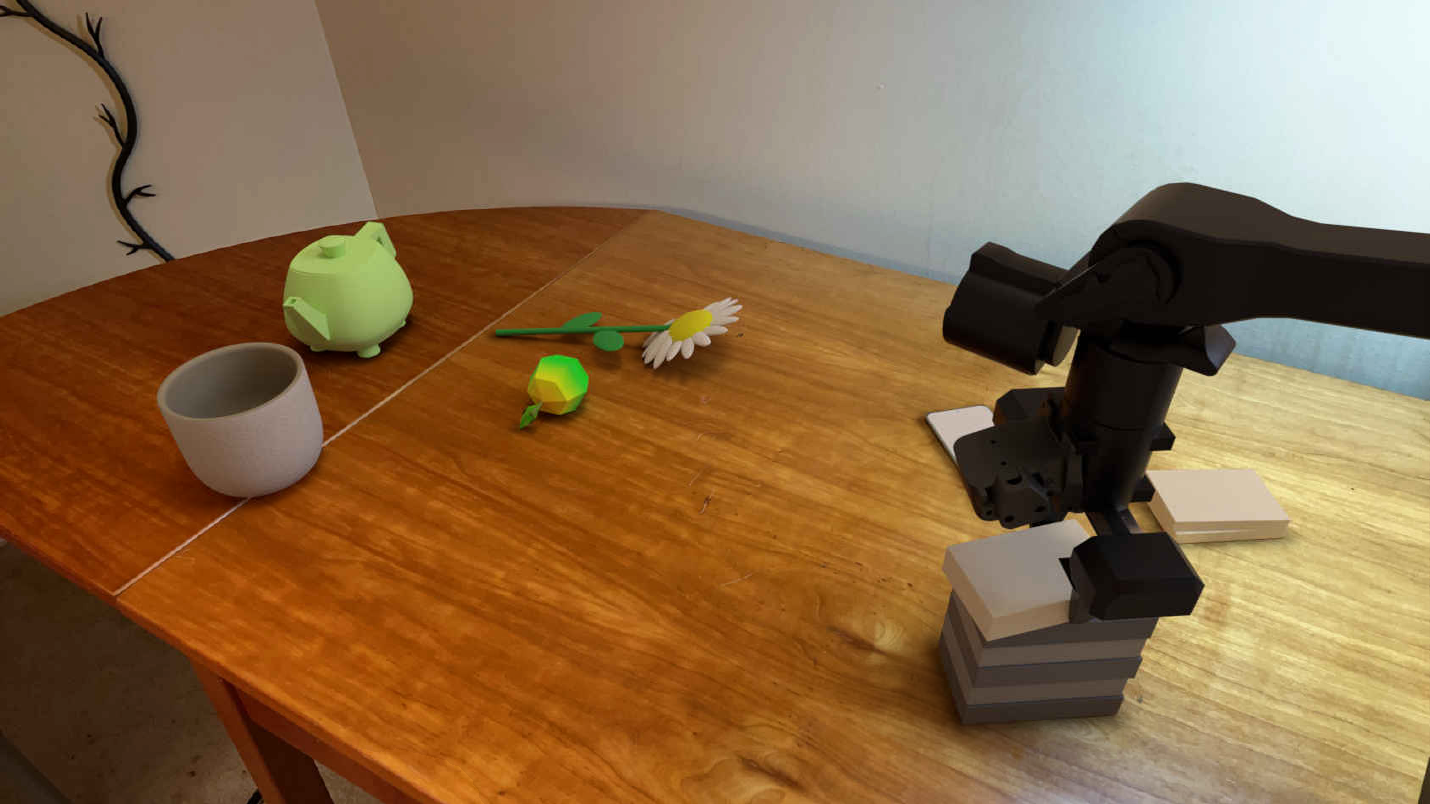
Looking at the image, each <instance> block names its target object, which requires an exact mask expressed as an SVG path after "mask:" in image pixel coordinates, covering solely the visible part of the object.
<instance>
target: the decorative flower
mask: <svg viewBox="0 0 1430 804" xmlns="http://www.w3.org/2000/svg"><path fill="white" fill-rule="evenodd" d="M738 301H739V299H733V300H732V297H727V298H725V299H722V300H721V301H715V302H711V304H709V305H707V306H705V307H704V308H702V309H696V310H692V311H689V312H686V313H684V314H682V315H680V316H679V317H677V318H676V319H674V318H672V319H670V320H669V321H667V322H665V323H663V324H653V325H652V324H651V325H650V324H649V325H647V324H646V325H616V326H615V325H614V326H611V325H610V326H593V325H594V324H596V323H598V322H599V321H600V319H601V318H602V312H597V311H592V312H587V313H582V314H580V315H578V316H575V317H574V318H571V319H569V320H568V321H566V322H564V323H563V325H562V326H561V327H536V328H534V327H533V328H530V327H529V328H497V329H496V330H495V335H496V336H497V337H499V336H500V337H501V336H502V337H503V336H505V337H507V336H539V335H540V336H543V335H545V336H546V335H586V334H587V335H588V334H589V335H590V334H593V337H592V342H593V345H594V346H595V347H597V348H598V349H599V350H601V351H605V352H616V351H619V350H620V349H621V348H623V347H624V343H625V340H624V337H623V335H622V334H623V333H624V334H627V333H628V334H629V333H630V334H631V333H632V334H633V333H651V335H650V336H649V337H647V339H646V340H645V341H644V342H643V345H642V348H645V350H644V352H642V354H641V357H640V358H641V359H643V358H644V365H646V364H647V365H648V364H649V363H650V362H652V361H653V364H652V367H653V369H654V370H655V369H657V368H659V367H660V366H661V364H662V363H664V361H665V359H666V362H669V361H671V360H673V358H675V357H676V356H677V354H678V353H679V351H681V355H682V357H683V358H684V360H685V359H687V360H688V359H689V358H691V357H692V354H694V353H693V352H694V350H695V345H697V346H699V347H700V346H701V347H707V346H709V345H710V344H711V339H710V337H711V336H713V337H714V336H720V335H723V334H726V333H727V332H728V330H729V329H728V328H726V327H725V326H728V325H732V324H734V323H735V322H738V321H739V319H740V318H739V317H738V316H733V315H734V314H736V313H738V312H739V311H741V310H742V308H743V305H742V304H737V302H738Z"/></svg>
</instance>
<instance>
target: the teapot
mask: <svg viewBox="0 0 1430 804" xmlns="http://www.w3.org/2000/svg"><path fill="white" fill-rule="evenodd" d="M396 255H397V251H396V249H395V247H394V244H393V242H392V240H391V238H390V236H389V234H388V231H387V230H386V227H385V225H384V223H382V222H373V221H367V222H366V223H365V225H364V226H363V227H362V228H361V229H359V230H358V231H357V232H356V234H354V235H336V234H332V235H327V236H324V237H323V238H321V239H318V240H316V241H314V242H312V243H311V244H309V245H307V246H306V247H304V248H303V249H302V250H300V251H298V253H297V254H296V255H295V257H294V258H293V259H292V260H291V261H290V264H289V267H288V270H287V274H286V279H285V283H284V284H285V285H284V290H283V298H282V299H283V301H282V302H283V303H282V308H283V315H284V322H285V324H286V328H287V331H288V332H289V333H290V334H291V335H292V336H293V337H294V338H295V339H297V340H298V341H300V342H301V343H303V344H305V345H307V346H309V347H310V350H311V351H313V352H325V351H327V350H328V351H334V352H335V351H336V352H357V356H359V357H360V358H365V359H366V358H371V357H372V358H373V357H374V356H377V355H378V354H379V353H380V352H381V347H380V346H379V344H380V343H382V342H384V341H385V340H386V339H389V338H390V337H391V336H392V335H394V334H395V333H396V332H397V331H398V330H399V329H400V328H403V327H404V326H405V325H406V323H407V321H406V319H407V317H408V315H409V313H410V310H411V309H412V306H413V301H414V294H413V293H414V292H413V290H412V289H413V288H412V287H411V284H410V280H409V279H408V276H407V274H406V273H405V271H404V270H403V268H402V266H401V265H400V264H399V262H398V261H397V260H396V259H395V258H396Z"/></svg>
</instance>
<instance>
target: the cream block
mask: <svg viewBox="0 0 1430 804" xmlns="http://www.w3.org/2000/svg"><path fill="white" fill-rule="evenodd" d="M1090 537H1091V536H1090V535H1089V534H1088V533H1087V531H1086V530H1085V529H1084V528H1083V527H1082V526H1081V524H1080V522H1078V520H1077V519H1075V518H1071V519H1066V520H1063V521H1061V522H1056V523H1052V524H1047V525H1042V526H1038V527H1033V528H1029V527H1028V528H1023V529H1020V530H1014V531H1010V532H1006V533H1002V534H996V535H992V536H987V537H982V538H977V539H973V540H969V541H964V542H960V543H955V544H951V545H947V546H946V548H945V553H944V557H943V563H942V567H941V571H942V572H943V574H944V576H946V579H947V580H948V582H949V583H950V585H951V587H953V588H954V590H955V591H956V593H957V594H958V596H959V597H960V599H961V601H962V602H963V604H964V605H965V607H966V609H967V610H968V612H969V613H970V615H971V617H972V618H973V620H974V621H975V623H976V625H977V626H978V628H979V629H980V631H981V632H982V634H983V636H984V637H985V639H986V640H987V641H991V640H996V639H1000V638H1004V637H1008V636H1012V635H1016V634H1020V633H1024V632H1029V631H1033V630H1037V629H1041V628H1045V627H1049V626H1053V625H1057V624H1061V623H1066V622H1069V620H1068V614H1069V604H1070V598H1071V592H1072V586H1071V584H1070V582H1069V580H1068V578H1067V576H1066V574H1065V572H1064V570H1063V568H1062V566H1061V564H1060V562H1059V558H1066V557H1071V554H1072V551H1073V548H1074V547H1076V546H1077V545H1079V544H1080V543H1082V542H1084V541H1085V540H1087V539H1088V538H1090Z"/></svg>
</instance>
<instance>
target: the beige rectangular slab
mask: <svg viewBox="0 0 1430 804" xmlns="http://www.w3.org/2000/svg"><path fill="white" fill-rule="evenodd" d="M1145 474H1146V476H1147V477H1148V479H1149V480H1150V482H1151V483H1152V485H1153V486H1154V488H1155V489H1156V490H1155V493H1154V495H1153V498H1152V501H1151V502H1145V503H1146V505H1147V507H1148V508H1149V509H1150V511H1151V512H1152V514H1153V516H1154V517H1155V519H1156V521H1157V522H1158V524H1159V525H1160V526H1161V528H1162V530H1163V532H1167V533H1168V534H1169V535H1170V536H1171V537H1172V538H1173V539H1174V540H1175V541H1176V542H1177V543H1178V545H1180V544H1193V543H1194V544H1196V543H1213V542H1230V541H1248V540H1266V539H1267V540H1268V539H1283V538H1284V537H1285V536H1286V534H1287V532H1288V530H1289V527H1288V526H1289V525H1290V523H1291V521H1292V519H1291V518H1290V516H1289V515H1288V514H1287V512H1286V511H1285V509H1284V507H1282V506H1281V504H1280V503H1279V502H1278V500H1277V499H1276V497H1275V496H1274V494H1273V493H1272V492H1271V491H1270V489H1269V488H1268V487H1267V484H1265V482H1264V481H1263V480H1262V478H1261V477H1260V475H1259V474H1258V473H1257V472H1256V470H1255V469H1254V468H1211V469H1210V468H1207V469H1204V468H1203V469H1151V470H1150V469H1149V470H1147V469H1146V471H1145Z"/></svg>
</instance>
